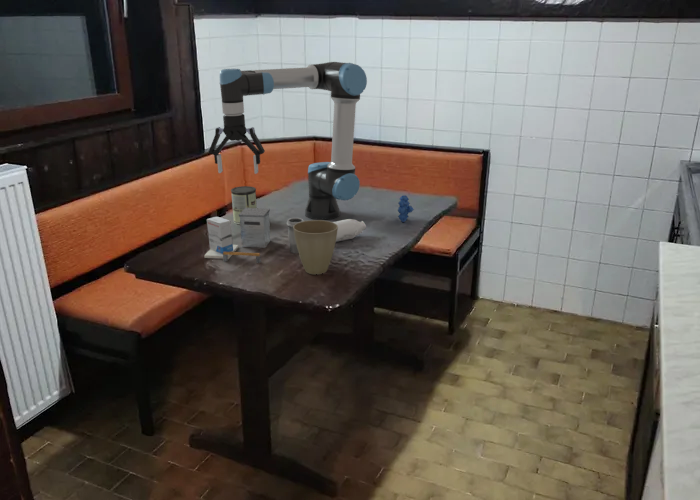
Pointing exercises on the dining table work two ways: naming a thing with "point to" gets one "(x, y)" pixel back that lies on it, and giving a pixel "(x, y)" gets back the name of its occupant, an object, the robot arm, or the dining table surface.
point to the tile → (218, 253)
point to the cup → (291, 235)
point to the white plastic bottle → (349, 229)
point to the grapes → (404, 208)
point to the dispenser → (253, 231)
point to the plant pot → (315, 244)
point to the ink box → (220, 234)
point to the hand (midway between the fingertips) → (238, 172)
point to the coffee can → (242, 200)
